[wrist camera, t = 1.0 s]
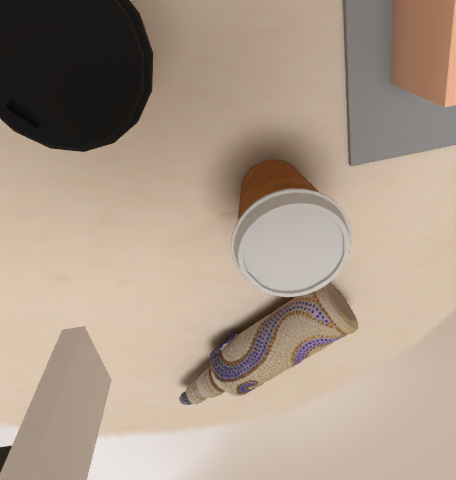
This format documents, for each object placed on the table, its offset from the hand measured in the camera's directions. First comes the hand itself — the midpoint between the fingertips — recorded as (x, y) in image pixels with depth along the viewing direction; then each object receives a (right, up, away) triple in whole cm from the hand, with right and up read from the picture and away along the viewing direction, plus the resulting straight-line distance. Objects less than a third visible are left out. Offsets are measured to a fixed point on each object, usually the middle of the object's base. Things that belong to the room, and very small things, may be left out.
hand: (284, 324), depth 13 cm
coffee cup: (-12, +19, +19) cm, 30 cm away
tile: (+13, +21, +18) cm, 31 cm away
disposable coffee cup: (+3, +8, +27) cm, 28 cm away
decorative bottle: (+1, -9, +37) cm, 38 cm away
